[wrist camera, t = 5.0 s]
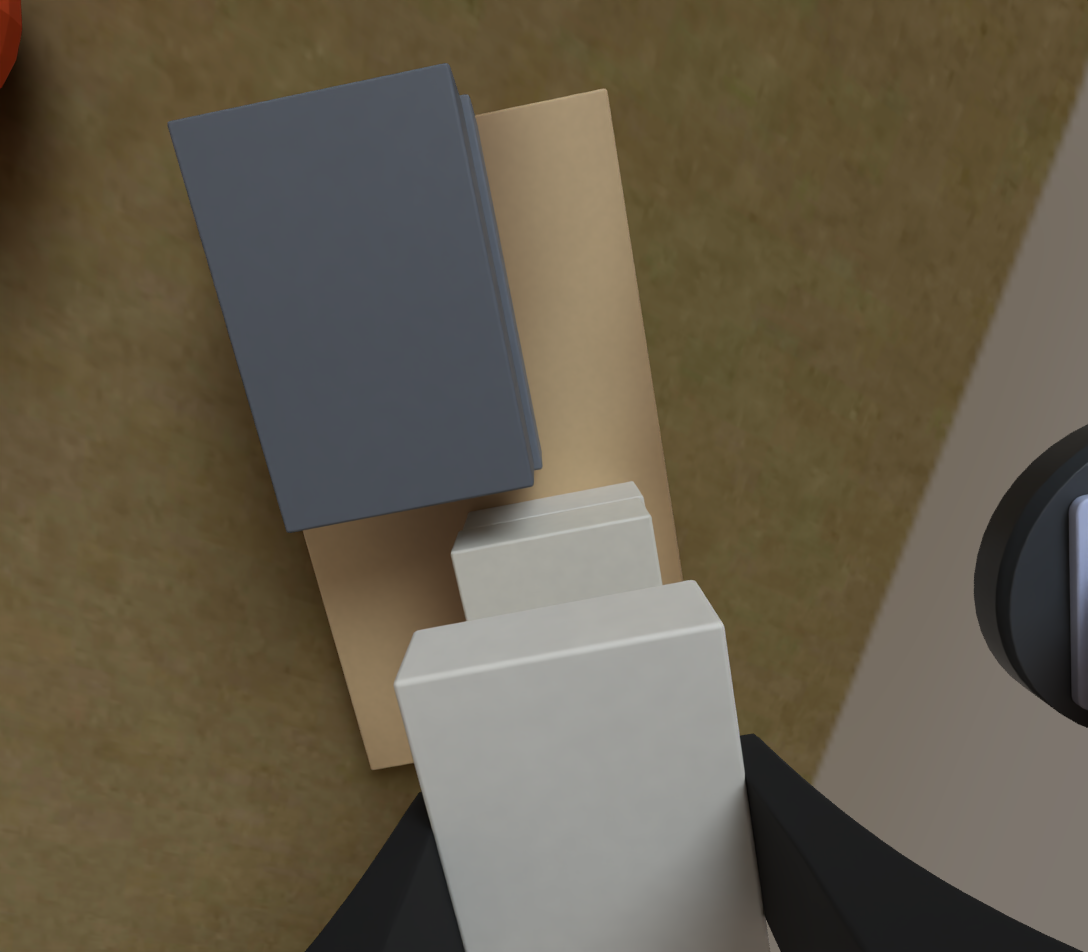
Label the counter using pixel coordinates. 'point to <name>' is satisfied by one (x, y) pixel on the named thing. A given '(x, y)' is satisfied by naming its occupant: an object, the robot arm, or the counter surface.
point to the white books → (555, 551)
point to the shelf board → (556, 391)
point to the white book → (587, 776)
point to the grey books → (364, 295)
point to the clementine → (9, 35)
